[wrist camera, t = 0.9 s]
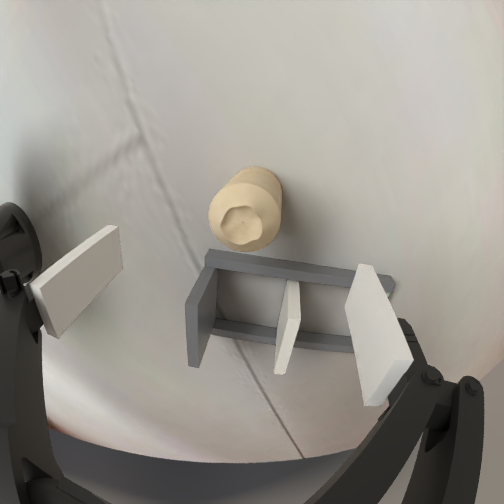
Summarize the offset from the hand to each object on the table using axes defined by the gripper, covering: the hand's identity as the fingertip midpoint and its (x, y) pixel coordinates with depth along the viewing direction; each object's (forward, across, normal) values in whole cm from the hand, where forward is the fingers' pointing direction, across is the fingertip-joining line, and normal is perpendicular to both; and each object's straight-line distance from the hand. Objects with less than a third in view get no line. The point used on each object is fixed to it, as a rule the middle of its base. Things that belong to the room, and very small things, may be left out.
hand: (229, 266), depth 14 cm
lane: (+16, +6, -13) cm, 21 cm away
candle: (+16, 0, 0) cm, 16 cm away
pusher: (+16, +6, -13) cm, 21 cm away
